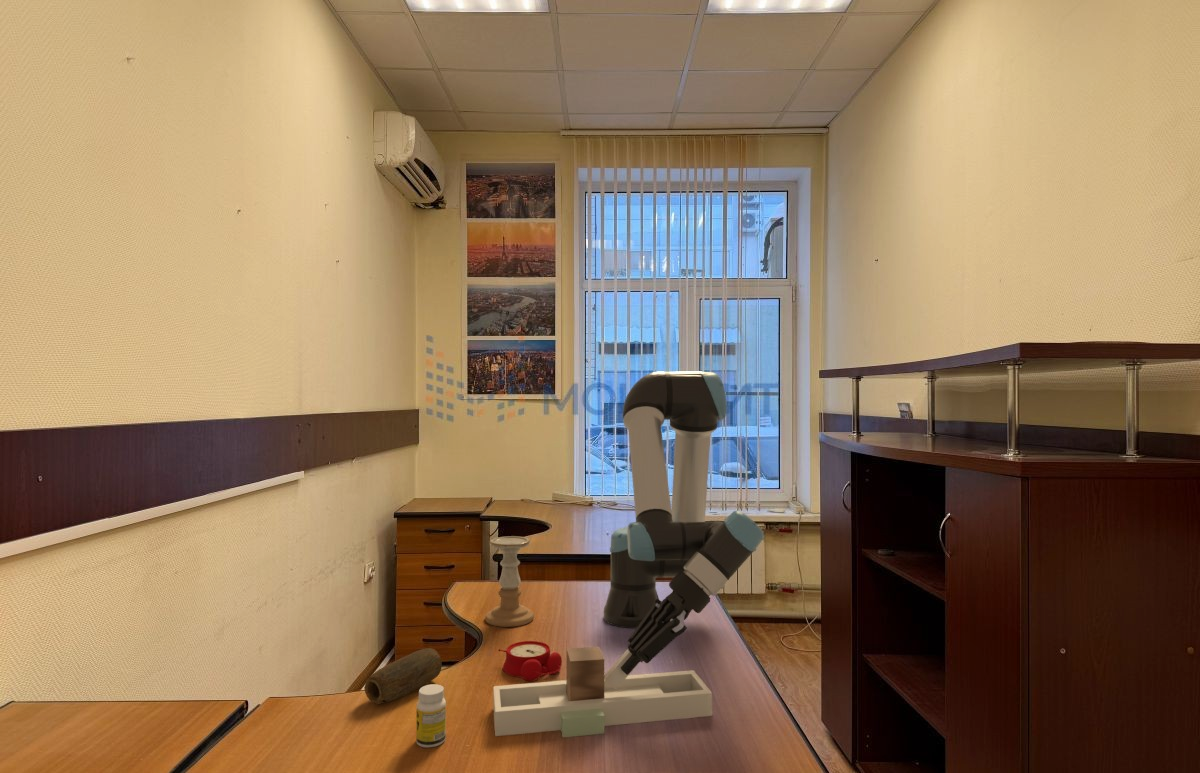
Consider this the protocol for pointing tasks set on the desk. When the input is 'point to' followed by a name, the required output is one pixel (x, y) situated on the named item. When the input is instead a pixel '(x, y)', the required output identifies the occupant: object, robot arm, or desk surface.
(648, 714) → the board
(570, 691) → the walnut block
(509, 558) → the candle holder
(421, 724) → the supplement bottle
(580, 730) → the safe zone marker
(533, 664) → the alarm clock
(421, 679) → the hollow wooden log
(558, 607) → the desk surface
